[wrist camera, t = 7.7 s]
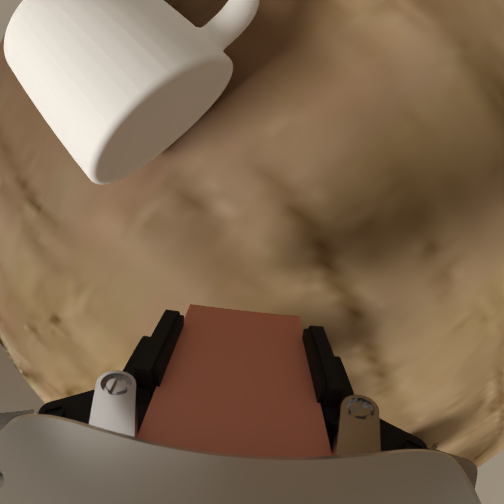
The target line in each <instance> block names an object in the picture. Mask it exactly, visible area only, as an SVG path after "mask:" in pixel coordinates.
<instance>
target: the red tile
mask: <svg viewBox="0 0 504 504" xmlns="http://www.w3.org/2000/svg"><path fill="white" fill-rule="evenodd" d="M302 336H303V331H302V327H301V323H300V320H299V316H289V315H278V314H268V313H258V312H249V311H240V310H232V309H223V308H215V307H208V306H200V305H193V304H190V307H189V309H188V311H187V314H186V316H185V318H184V326H183V329H182V331H181V334H180V336H179V338H178V341H177V343H176V346H175V348H174V351H173V353H172V356H171V359H170V361H169V364H168V366H167V369H166V371H165V374H164V376H163V379H162V382H161V384H160V387H158V386H156V389H155V391H154V394H153V396H152V399H151V402H150V404H149V407H148V409H147V412H146V414H145V417H144V420H143V422H142V425H141V428H140V430H139V433H138V436H137V438H141V439H146V440H150V441H154V442H159V443H164V444H169V445H174V446H180V447H186V448H192V449H198V450H205V451H213V452H222V453H231V454H242V455H257V456H284V457H308V456H332V453H331V448H330V444H329V439H328V435H327V431H326V426H325V422H324V417H323V413H322V409H321V404H320V403H317V400H316V396H315V391H314V387H313V382H312V378H311V374H310V369H309V365H308V361H307V357H306V353H305V348H304V344H303V340H302Z"/></svg>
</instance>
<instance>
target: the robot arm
mask: <svg viewBox="0 0 504 504" xmlns="http://www.w3.org/2000/svg"><path fill="white" fill-rule="evenodd" d="M183 326H184V316H183V315H180V313H179V311H172V310H165V312H164V314H163V316H162V317H161V319H160V321H159V323H158V325H157V326H156V328H155V330H154V332H153V334H152V336H151V337H148V336H143V337H142V338H141V340H140V342H139V343H138V345H137V347H136V349H135V350H134V352H133V354H132V356H131V357H130V359H129V361H128V363H127V364H126V366H125V368H124V370H123V371H119V370H116V371H109V372H106V373H104V374H102V375H101V376H100V377H99V378H98V380H97V382H96V387H95V390H91V391H88V392H84V393H81V394H77V395H74V396H70V397H66V398H63V399H59V400H55V401H51V402H49V403H46V404H45V405H43V406H42V407H41V408H40V410H39V412H35V411H34V409H31V410H23V411H15V412H5V413H0V504H481V502H480V500H479V498H478V496H477V493H476V491H475V484H476V479H477V468H476V465H475V464H474V463H473V462H472V461H470V460H468V459H464V458H461V457H458V456H455V455H452V454H448V453H445V452H442V451H439V450H436V449H434V448H432V449H431V450H428V448H427V446H426V444H425V443H424V442H423V441H422V440H421V439H419V438H417V437H415V436H413V435H411V434H409V433H407V432H405V431H403V430H401V429H399V428H397V427H395V426H393V425H391V424H389V423H387V422H385V421H383V420H382V419H380V418H379V408H378V406H377V404H376V403H375V402H374V401H373V400H372V399H370V398H368V397H366V396H362V395H354V392H353V390H352V387H351V384H350V382H349V379H348V377H347V374H346V371H345V369H344V366H343V364H342V361H341V359H340V357H335V356H334V354H333V352H332V349H331V346H330V344H329V341H328V338H327V336H326V333H325V330H324V328H323V327H321V326H309V329H304V332H303V336H302V340H303V344H304V348H305V353H306V357H307V361H308V365H309V369H310V374H311V378H312V382H313V387H314V391H315V396H316V400H317V403H320V404H321V409H322V413H323V417H324V422H325V426H326V431H327V435H328V439H329V444H330V448H331V453H332V456H308V457H284V456H257V455H242V454H231V453H222V452H213V451H205V450H198V449H192V448H186V447H180V446H174V445H169V444H164V443H159V442H154V441H150V440H146V439H141V438H137V436H138V433H139V430H140V428H141V425H142V422H143V420H144V417H145V414H146V412H147V409H148V407H149V404H150V402H151V399H152V396H153V394H154V391H155V389H156V386H158V387H160V384H161V382H162V379H163V376H164V374H165V371H166V369H167V366H168V364H169V361H170V359H171V356H172V353H173V351H174V348H175V346H176V343H177V341H178V338H179V336H180V334H181V331H182V329H183Z"/></svg>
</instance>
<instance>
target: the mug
mask: <svg viewBox="0 0 504 504" xmlns="http://www.w3.org/2000/svg"><path fill="white" fill-rule="evenodd" d="M259 1H260V0H228V2H227V3H226V4H225V6H224V7H223V8H222V9H221V10H220V11H219V12H218V13H217V14H216V15H215V16H214V17H213V18H212V19H211V20H210V21H209V22H208V23H207V24H206V25H204V26H203V27H195V26H194V25H193V24H192V23H191V22H190V21H188V20H187V19H186V18H185V17H184V16H182V15H181V14H180V13H179V12H178V11H176V10H175V9H174V8H173V7H171V6H170V5H169V4H168V3H166V2H165V1H164V0H23V1H22V2H21V3H20V5H19V6H18V8H17V9H16V11H15V12H14V14H13V16H12V18H11V20H10V22H9V25H8V27H7V30H6V34H5V39H4V53H5V58H6V60H7V62H8V64H9V66H10V67H11V69H12V71H13V72H14V74H15V75H16V77H17V79H18V80H19V82H20V83H21V85H22V86H23V88H24V89H25V91H26V92H27V94H28V95H29V97H30V98H31V100H32V101H33V103H34V104H35V106H36V107H37V109H38V110H39V112H40V113H41V115H42V116H43V117H44V119H45V120H46V122H47V123H48V124H49V126H50V127H51V129H52V130H53V131H54V133H55V134H56V135H57V137H58V138H59V140H60V141H61V142H62V144H63V145H64V146H65V148H66V149H67V150H68V152H69V153H70V154H71V155H72V157H73V158H74V159H75V161H76V162H77V163H78V165H79V166H80V167H81V168H82V170H83V171H84V172H85V173H86V175H87V176H88V177H89V179H90V180H91V181H93V182H94V183H97V184H109V183H113V182H116V181H118V180H120V179H122V178H124V177H126V176H128V175H130V174H132V173H133V172H135V171H137V170H138V169H140V168H141V167H143V166H144V165H146V164H147V163H148V162H150V161H151V160H152V159H154V158H155V157H156V156H158V155H159V154H160V153H162V152H163V151H164V150H165V149H167V148H168V147H169V146H170V145H171V144H173V143H174V142H175V141H176V140H177V139H178V138H180V137H181V136H182V135H183V134H184V133H185V132H186V131H187V130H188V129H189V128H190V127H192V126H193V125H194V124H195V123H196V122H197V121H198V120H199V119H200V118H201V117H202V116H203V115H204V114H205V112H206V111H207V110H208V109H209V108H210V107H211V106H212V105H213V104H214V102H215V101H216V100H217V99H218V98H219V96H220V95H221V94H222V92H223V91H224V89H225V88H226V86H227V84H228V83H229V81H230V78H231V76H232V72H233V64H232V61H231V59H230V58H229V57H228V56H227V55H226V54H225V53H224V52H223V51H224V49H225V48H226V47H227V46H228V45H230V44H231V43H232V42H233V41H234V40H235V39H236V38H237V37H238V36H239V35H240V34H241V33H242V32H243V31H244V30H245V29H246V28H247V26H248V25H249V24H250V23H251V21H252V20H253V18H254V16H255V14H256V12H257V10H258V7H259Z"/></svg>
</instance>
